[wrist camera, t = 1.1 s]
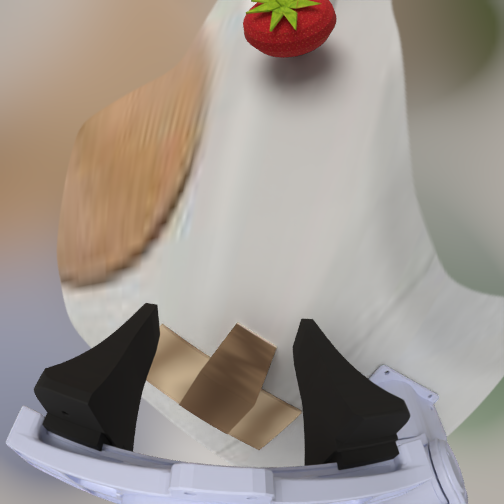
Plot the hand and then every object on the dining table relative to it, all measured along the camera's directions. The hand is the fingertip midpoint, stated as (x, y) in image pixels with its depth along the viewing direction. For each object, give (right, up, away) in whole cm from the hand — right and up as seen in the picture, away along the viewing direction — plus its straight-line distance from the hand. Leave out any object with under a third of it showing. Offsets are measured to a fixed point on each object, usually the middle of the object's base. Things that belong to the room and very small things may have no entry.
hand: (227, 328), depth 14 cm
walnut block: (+1, -6, +13) cm, 15 cm away
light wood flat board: (-3, -13, +15) cm, 20 cm away
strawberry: (+5, +22, +7) cm, 24 cm away
